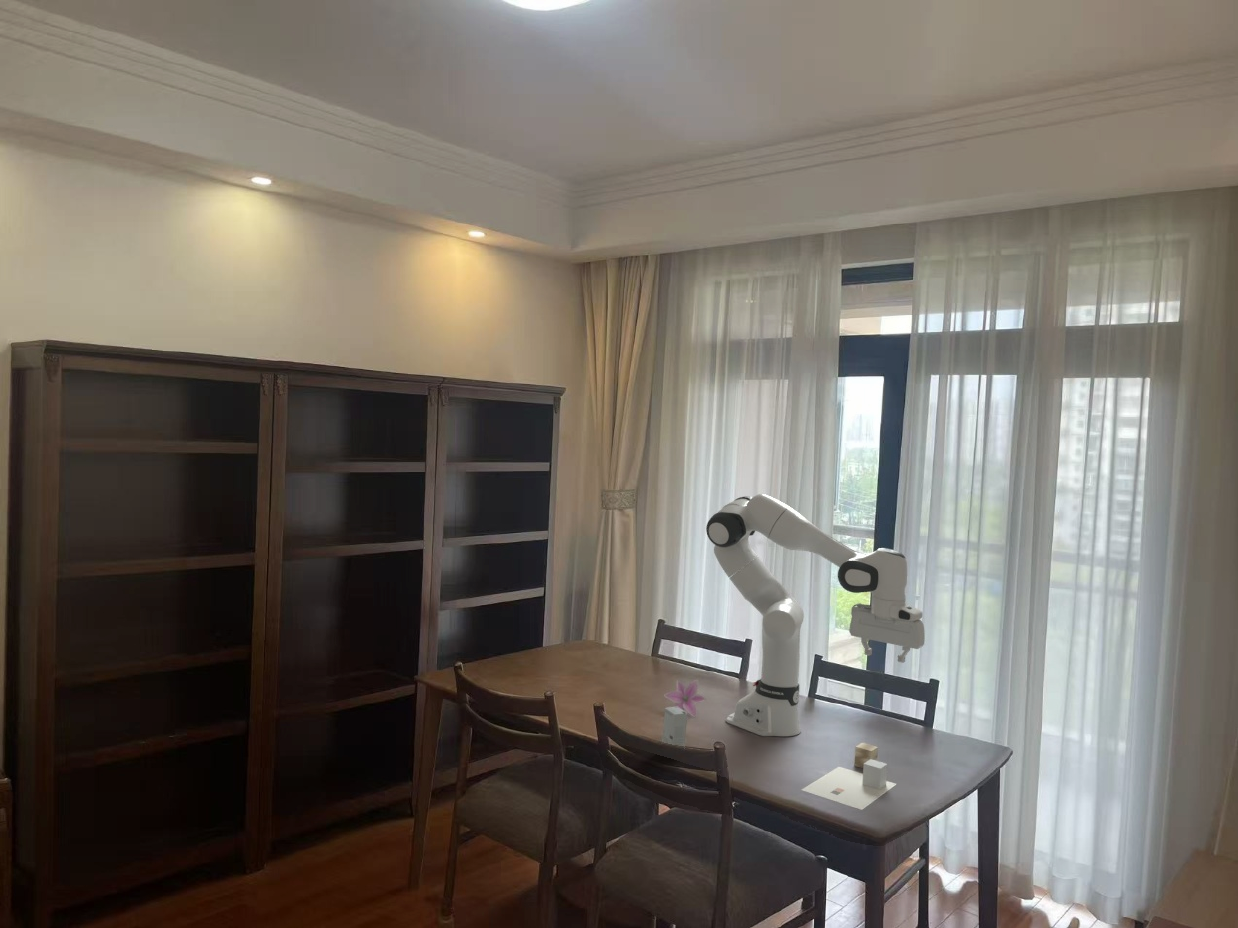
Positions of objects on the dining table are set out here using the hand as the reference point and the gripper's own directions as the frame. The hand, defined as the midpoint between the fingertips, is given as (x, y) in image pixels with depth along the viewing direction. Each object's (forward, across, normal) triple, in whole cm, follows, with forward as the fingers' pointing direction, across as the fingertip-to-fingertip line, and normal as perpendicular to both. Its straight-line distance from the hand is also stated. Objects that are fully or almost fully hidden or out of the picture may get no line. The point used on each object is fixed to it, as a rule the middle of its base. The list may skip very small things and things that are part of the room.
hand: (884, 658), depth 241 cm
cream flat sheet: (+29, +2, -23) cm, 37 cm away
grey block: (+29, +6, -17) cm, 34 cm away
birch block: (+29, -1, -6) cm, 30 cm away
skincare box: (+29, -43, -37) cm, 64 cm away
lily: (+29, -61, -5) cm, 68 cm away
